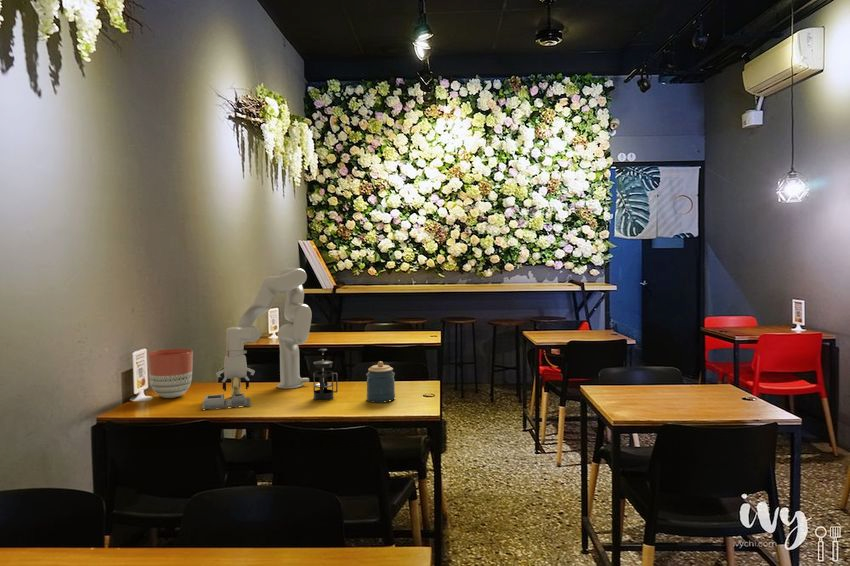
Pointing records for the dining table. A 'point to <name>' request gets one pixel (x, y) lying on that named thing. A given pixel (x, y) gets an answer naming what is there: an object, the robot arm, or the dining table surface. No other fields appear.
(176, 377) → the planter
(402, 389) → the dining table surface
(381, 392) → the canister
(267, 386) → the dining table surface
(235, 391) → the tan cylinder
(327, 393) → the french press
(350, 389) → the dining table surface
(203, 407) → the manifold
